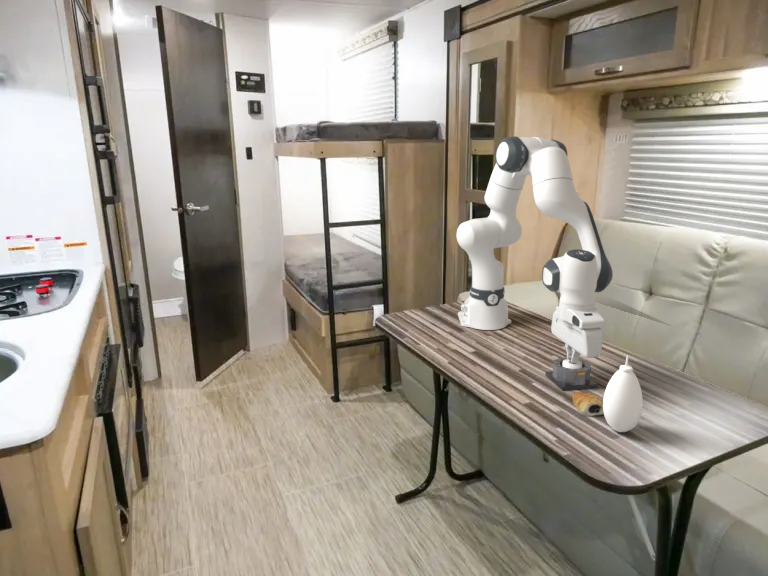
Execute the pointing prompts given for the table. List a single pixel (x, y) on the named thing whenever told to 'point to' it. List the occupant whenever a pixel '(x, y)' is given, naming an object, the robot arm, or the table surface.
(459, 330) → the table surface
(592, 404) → the pastry
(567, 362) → the cylinder with grey knob
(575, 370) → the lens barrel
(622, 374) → the white air blower bulb
